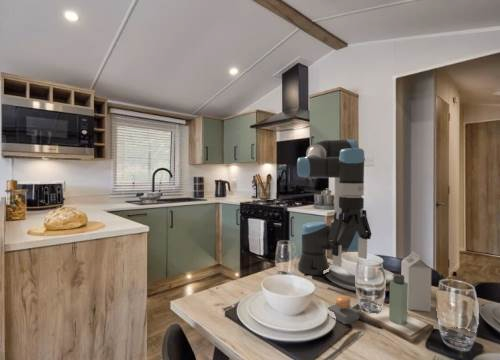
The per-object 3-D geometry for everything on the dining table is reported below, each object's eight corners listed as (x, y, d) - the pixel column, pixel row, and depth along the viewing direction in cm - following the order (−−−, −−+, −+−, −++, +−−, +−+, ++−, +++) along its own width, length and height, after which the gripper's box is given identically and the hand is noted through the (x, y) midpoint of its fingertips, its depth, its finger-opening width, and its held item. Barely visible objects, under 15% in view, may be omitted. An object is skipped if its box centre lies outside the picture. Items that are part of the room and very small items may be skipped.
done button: (333, 303, 87) (333, 297, 87) (341, 300, 89) (341, 294, 89) (344, 309, 83) (344, 303, 83) (353, 305, 86) (353, 299, 86)
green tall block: (389, 319, 83) (389, 275, 83) (395, 316, 85) (396, 272, 85) (400, 324, 80) (401, 279, 80) (407, 321, 82) (407, 276, 81)
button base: (327, 315, 88) (327, 307, 87) (341, 309, 91) (341, 302, 91) (344, 325, 82) (345, 317, 82) (358, 318, 85) (359, 311, 85)
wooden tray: (354, 313, 88) (354, 308, 88) (377, 303, 96) (377, 298, 95) (411, 343, 73) (411, 336, 73) (433, 328, 80) (433, 322, 80)
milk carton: (421, 302, 97) (422, 251, 96) (430, 312, 90) (431, 257, 89) (400, 300, 98) (401, 249, 98) (407, 310, 91) (408, 255, 91)
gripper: (336, 199, 75) (335, 273, 76) (383, 195, 89) (382, 257, 90) (315, 197, 81) (315, 265, 82) (362, 194, 96) (361, 252, 96)
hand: (350, 261), depth 86 cm, fingers open, 13 cm apart
